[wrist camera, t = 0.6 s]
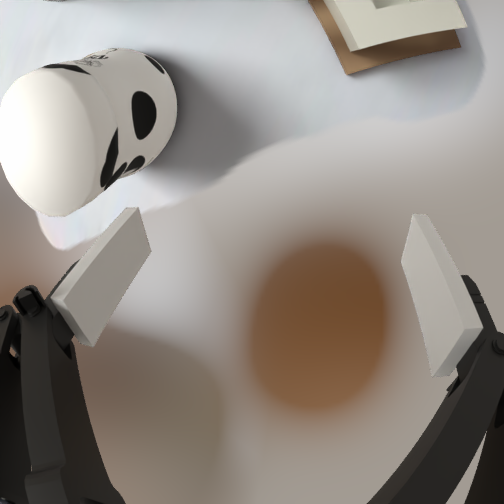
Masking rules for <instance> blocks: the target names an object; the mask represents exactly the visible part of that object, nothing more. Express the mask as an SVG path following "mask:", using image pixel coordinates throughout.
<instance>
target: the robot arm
mask: <svg viewBox="0 0 504 504" xmlns="http://www.w3.org/2000/svg"><path fill="white" fill-rule="evenodd" d="M45 1H65V0H45ZM150 253H151V248H150V245H149V242H148V238H147V235H146V232H145V229H144V225H143V222H142V218H141V215H140V211H139V207H133V208H125V210H124V211H123V212H122V213H121V214H120V215H119V216H118V217H117V218H116V219H115V220H114V221H113V222H112V224H111V225H110V226H109V227H108V228H107V229H106V230H105V231H104V232H103V233H102V235H101V236H100V237H99V238H98V239H97V240H96V241H95V243H94V244H93V245H92V246H91V247H90V248H89V250H88V251H87V252H86V253H85V254H84V255H83V257H82V258H81V259H79V260H78V261H77V262H75V263H74V264H73V265H72V266H71V267H70V268H69V270H68V271H67V272H66V274H64V276H63V277H62V278H61V280H60V281H59V282H58V284H57V285H56V286H55V287H54V288H53V290H52V291H51V293H50V294H49V295H48V296H47V298H46V299H45V300H44V299H43V297H42V296H41V294H40V292H39V291H38V289H37V287H35V286H34V285H29V286H26V287H24V288H23V289H21V290H20V291H19V292H18V293H17V294H16V296H15V297H14V299H13V303H14V305H15V306H16V308H17V309H18V311H19V312H20V313H16V312H15V310H14V309H13V307H12V306H10V305H5V306H3V307H1V308H0V504H126V503H125V501H124V500H123V498H122V496H121V495H120V494H119V492H118V491H117V490H116V489H115V488H114V487H113V485H112V484H111V482H110V480H109V477H108V475H107V472H106V469H105V467H104V464H103V461H102V458H101V455H100V452H99V449H98V446H97V443H96V440H95V436H94V433H93V429H92V426H91V423H90V419H89V415H88V411H87V407H86V403H85V399H84V394H83V390H82V386H81V381H80V376H79V370H78V365H77V360H76V353H75V347H74V344H73V342H72V341H71V339H72V338H73V336H74V335H75V337H76V338H77V339H78V341H79V342H80V344H83V345H87V346H91V347H94V345H95V343H96V341H97V340H98V338H99V336H100V334H101V332H102V331H103V329H104V327H105V326H106V324H107V322H108V320H109V319H110V317H111V315H112V314H113V312H114V310H115V309H116V307H117V305H118V303H119V302H120V300H121V299H122V297H123V295H124V294H125V292H126V290H127V289H128V287H129V286H130V284H131V282H132V281H133V279H134V278H135V276H136V274H137V273H138V271H139V270H140V268H141V267H142V265H143V264H144V262H145V260H146V259H147V257H148V256H149V254H150ZM401 264H402V267H403V269H404V273H405V276H406V278H407V281H408V285H409V288H410V291H411V295H412V298H413V301H414V305H415V308H416V312H417V315H418V319H419V323H420V327H421V331H422V334H423V338H424V342H425V347H426V351H427V356H428V360H429V365H430V370H431V374H432V377H442V376H449V375H450V374H451V373H452V372H453V370H454V369H455V368H457V372H458V377H457V378H456V379H455V380H454V381H453V383H452V384H451V385H450V386H449V387H448V388H447V391H448V393H447V395H446V397H445V399H444V400H443V402H442V404H441V405H440V407H439V409H438V410H437V412H436V414H435V415H434V417H433V419H432V420H431V422H430V423H429V425H428V427H427V428H426V430H425V431H424V433H423V434H422V436H421V437H420V438H419V440H418V442H417V443H416V444H415V446H414V447H413V448H412V450H411V451H410V453H409V454H408V455H407V457H406V458H405V459H404V461H403V462H402V463H401V464H400V466H399V467H398V468H397V470H396V471H395V472H394V473H393V475H392V476H391V477H390V478H389V479H388V481H387V482H386V483H385V484H384V485H383V486H382V488H381V489H380V490H379V491H378V492H377V493H376V494H375V496H374V497H373V498H372V499H371V500H370V501H369V502H368V503H367V504H446V502H447V501H448V499H449V498H450V496H451V494H452V493H453V492H454V490H455V488H456V487H457V485H458V483H459V482H460V480H461V478H462V477H463V475H464V473H465V472H466V470H467V468H468V467H469V465H470V463H471V461H472V459H473V457H474V456H475V453H476V452H477V449H478V448H479V446H480V444H481V442H482V440H483V438H484V435H485V433H486V431H487V433H486V437H485V441H484V445H483V449H482V453H481V456H480V460H479V463H478V466H477V470H476V473H475V476H474V479H473V482H472V485H471V487H470V490H469V493H468V496H467V498H466V501H465V503H464V504H504V334H503V333H501V332H497V330H496V327H495V325H494V322H493V320H492V318H491V315H490V313H489V311H488V308H487V306H486V304H484V300H483V298H482V296H481V293H480V291H479V289H478V287H477V286H476V284H475V283H474V281H473V280H472V279H471V278H470V277H469V276H468V275H460V274H459V271H458V269H457V267H456V266H455V264H454V262H453V260H452V258H451V256H450V254H449V252H448V250H447V248H446V247H445V245H444V243H443V241H442V239H441V238H440V236H439V234H438V232H437V230H436V229H435V227H434V225H433V224H432V222H431V220H430V219H429V217H428V215H424V214H412V219H411V223H410V228H409V232H408V236H407V240H406V244H405V248H404V252H403V256H402V259H401ZM10 347H12V348H13V350H14V351H15V352H16V354H15V357H13V356H12V355H11V354H10V352H9V351H10ZM31 466H32V472H31Z"/></svg>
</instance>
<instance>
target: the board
mask: <svg viewBox="0 0 504 504" xmlns="http://www.w3.org/2000/svg"><path fill="white" fill-rule="evenodd" d="M308 2H309V3H310V5H311V7H312V9H313V10H314V12H315V14H316V16H317V17H318V19H319V21H320V23H321V25H322V27H323V28H324V30H325V32H326V34H327V36H328V38H329V40H330V42H331V44H332V46H333V48H334V50H335V52H336V54H337V56H338V58H339V60H340V62H341V65H342V67H343V69H344V71H345V73H346V75H348V74H351V73H354V72H358V71H361V70H364V69H367V68H371V67H374V66H378V65H382V64H385V63H389V62H393V61H397V60H401V59H405V58H409V57H413V56H418V55H422V54H427V53H432V52H437V51H442V50H448V49H453V48H460V47H461V45H460V43H459V40H458V37H457V35H456V32H455V30H454V29H451V30H444V31H438V32H432V33H426V34H421V35H416V36H411V37H406V38H402V39H397V40H393V41H389V42H385V43H381V44H377V45H373V46H370V47H366V48H363V49H359V50H355V51H351V52H350V50H349V48H348V46H347V44H346V42H345V40H344V38H343V36H342V34H341V32H340V30H339V28H338V26H337V24H336V22H335V20H334V18H333V16H332V15H331V13H330V11H329V9H328V7H327V6H326V4H325V2H324V1H323V0H308Z"/></svg>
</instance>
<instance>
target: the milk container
mask: <svg viewBox="0 0 504 504" xmlns="http://www.w3.org/2000/svg"><path fill="white" fill-rule="evenodd" d="M176 118H177V99H176V93H175V89H174V86H173V84H172V81H171V79H170V77H169V75H168V74H167V72H166V71H165V70H164V68H163V67H162V66H161V65H160V64H159V63H158V62H157V61H156V60H154V59H153V58H151V57H150V56H148V55H146V54H144V53H141V52H138V51H135V50H131V49H124V48H112V49H105V50H101V51H98V52H95V53H92V54H90V55H88V56H86V57H84V58H83V59H81V60H75V61H67V62H61V63H57V64H50V65H47V66H44V67H41V68H39V69H36V70H34V71H32V72H30V73H28V74H26V75H24V76H22V77H21V78H19V79H17V80H16V81H15V82H14V83H13V85H12V86H11V87H10V88H9V90H8V91H7V92H6V94H5V95H4V98H3V100H2V103H1V106H0V162H1V164H2V167H3V170H4V172H5V175H6V177H7V180H8V181H9V183H10V184H11V186H12V187H13V189H14V190H15V192H16V193H17V195H18V196H19V197H20V198H21V199H22V200H23V201H24V202H25V203H27V204H28V205H29V206H30V207H31V208H32V209H33V210H36V211H38V212H40V213H42V214H44V215H47V216H59V217H65V216H67V215H69V214H71V213H72V212H74V211H76V210H78V209H79V208H81V207H83V206H85V205H86V204H88V203H89V202H91V201H93V200H94V199H95V198H96V197H97V196H98V195H99V194H101V193H102V192H104V191H105V190H106V189H107V188H108V187H109V186H110V185H112V184H113V183H114V182H115V181H116V180H117V179H120V178H123V177H127V176H129V175H132V174H134V173H136V172H138V171H140V170H142V169H143V168H145V167H146V166H147V165H148V164H150V163H151V162H152V161H153V160H154V159H155V158H156V157H157V156H158V155H159V154H160V152H161V151H162V150H163V148H164V147H165V146H166V144H167V142H168V141H169V139H170V137H171V135H172V133H173V130H174V127H175V123H176Z"/></svg>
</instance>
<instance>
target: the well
mask: <svg viewBox="0 0 504 504" xmlns="http://www.w3.org/2000/svg"><path fill="white" fill-rule="evenodd" d="M323 1H324V2H325V4H326V6H327V7H328V9H329V11H330V13H331V15H332V16H333V18H334V20H335V22H336V24H337V26H338V28H339V30H340V32H341V34H342V36H343V38H344V40H345V42H346V44H347V46H348V48H349V50H350V52H351V51H355V50H359V49H363V48H366V47H370V46H373V45H377V44H381V43H385V42H389V41H393V40H397V39H402V38H406V37H411V36H416V35H421V34H426V33H432V32H438V31H444V30H451V29H458V28H467V25H466V22H465V20H464V17H463V15H462V13H461V10H460V8H459V6H458V4H457V1H456V0H323Z"/></svg>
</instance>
